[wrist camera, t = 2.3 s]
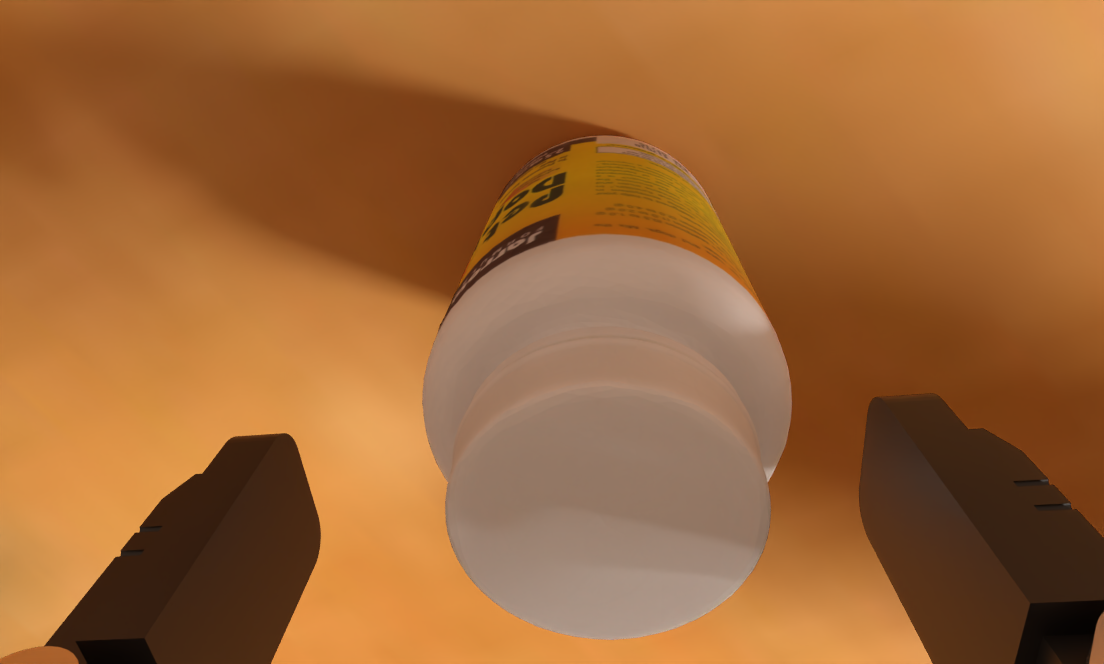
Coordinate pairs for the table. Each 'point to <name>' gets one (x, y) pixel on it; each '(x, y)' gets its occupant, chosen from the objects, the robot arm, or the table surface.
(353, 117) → the table surface
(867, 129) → the table surface
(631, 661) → the table surface
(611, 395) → the supplement bottle
